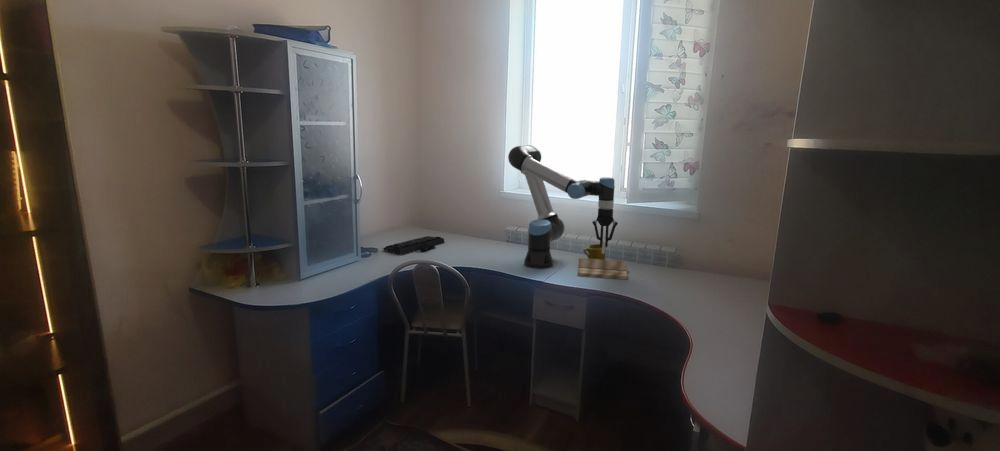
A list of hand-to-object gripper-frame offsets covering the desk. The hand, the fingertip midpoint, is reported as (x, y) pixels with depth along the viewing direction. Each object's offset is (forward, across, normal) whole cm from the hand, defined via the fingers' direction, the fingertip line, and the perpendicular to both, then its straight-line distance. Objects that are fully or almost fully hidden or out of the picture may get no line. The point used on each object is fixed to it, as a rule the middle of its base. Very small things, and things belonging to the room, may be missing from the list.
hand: (603, 252), depth 248 cm
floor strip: (+9, 0, -11) cm, 14 cm away
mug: (+9, -4, +15) cm, 18 cm away
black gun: (+8, -107, +16) cm, 108 cm away
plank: (+7, 0, -2) cm, 7 cm away
